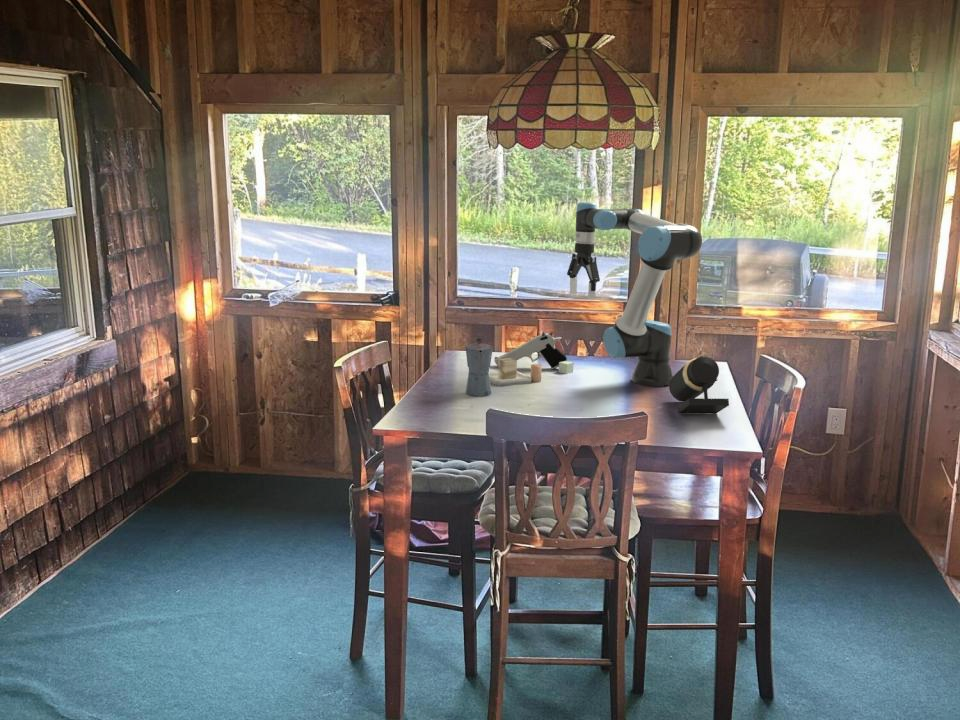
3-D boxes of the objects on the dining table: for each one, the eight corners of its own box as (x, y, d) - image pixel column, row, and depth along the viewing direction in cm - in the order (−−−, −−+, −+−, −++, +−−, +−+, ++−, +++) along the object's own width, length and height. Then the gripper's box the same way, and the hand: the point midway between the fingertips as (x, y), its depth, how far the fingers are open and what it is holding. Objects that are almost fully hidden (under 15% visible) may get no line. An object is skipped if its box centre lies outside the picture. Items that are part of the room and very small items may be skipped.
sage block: (573, 372, 352) (573, 362, 352) (566, 374, 350) (567, 364, 349) (565, 370, 355) (565, 360, 354) (558, 372, 352) (559, 362, 352)
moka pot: (467, 399, 311) (468, 342, 306) (461, 387, 325) (462, 333, 321) (494, 398, 312) (496, 342, 308) (487, 387, 327) (488, 333, 322)
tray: (531, 382, 335) (531, 377, 334) (497, 386, 329) (497, 381, 328) (516, 375, 345) (516, 370, 345) (483, 378, 339) (483, 373, 339)
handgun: (572, 360, 354) (554, 327, 352) (511, 391, 359) (493, 358, 357) (572, 357, 358) (555, 325, 355) (511, 388, 363) (493, 356, 360)
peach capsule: (542, 381, 337) (543, 366, 335) (533, 382, 335) (534, 367, 334) (537, 379, 340) (538, 363, 339) (528, 380, 339) (529, 364, 337)
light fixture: (700, 372, 317) (724, 352, 292) (704, 421, 312) (729, 405, 288) (664, 371, 316) (685, 352, 291) (667, 421, 312) (689, 405, 287)
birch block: (516, 379, 336) (516, 360, 334) (504, 380, 333) (505, 362, 332) (510, 376, 340) (510, 358, 338) (498, 377, 338) (498, 359, 336)
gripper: (560, 239, 359) (557, 292, 363) (594, 246, 337) (591, 302, 342) (576, 239, 362) (573, 291, 367) (610, 245, 340) (607, 301, 345)
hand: (582, 296), depth 354 cm, fingers open, 13 cm apart
